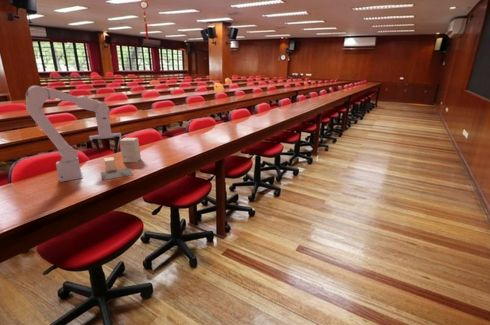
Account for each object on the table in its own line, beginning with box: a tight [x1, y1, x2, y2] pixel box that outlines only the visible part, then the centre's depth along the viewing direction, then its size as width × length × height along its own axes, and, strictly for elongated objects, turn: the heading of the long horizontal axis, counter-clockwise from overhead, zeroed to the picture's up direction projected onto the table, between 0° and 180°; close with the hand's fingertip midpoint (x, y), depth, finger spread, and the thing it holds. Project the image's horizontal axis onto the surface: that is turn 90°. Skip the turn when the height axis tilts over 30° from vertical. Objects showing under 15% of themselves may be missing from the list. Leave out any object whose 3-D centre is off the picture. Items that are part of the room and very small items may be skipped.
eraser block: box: [103, 156, 117, 172], centre depth 144 cm, size 4×6×6 cm
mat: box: [100, 167, 134, 181], centre depth 138 cm, size 14×12×1 cm
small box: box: [119, 137, 142, 163], centre depth 156 cm, size 8×6×13 cm
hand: (108, 151), depth 142 cm, fingers open, 7 cm apart
